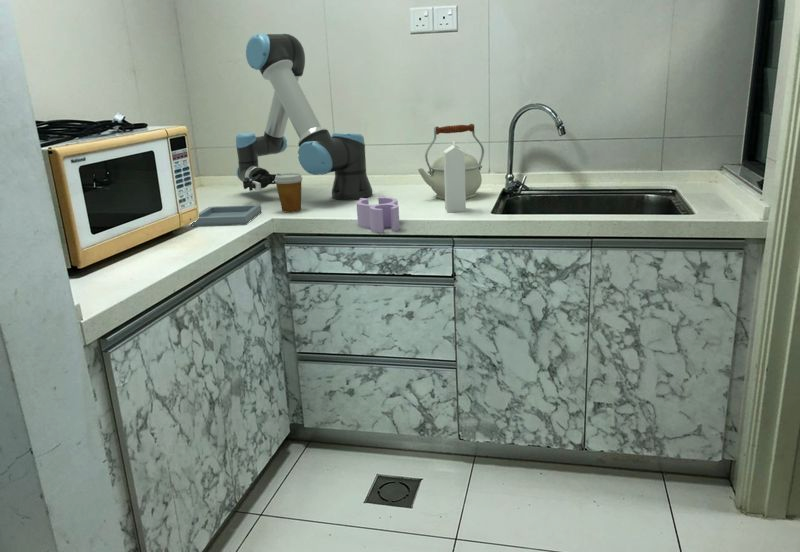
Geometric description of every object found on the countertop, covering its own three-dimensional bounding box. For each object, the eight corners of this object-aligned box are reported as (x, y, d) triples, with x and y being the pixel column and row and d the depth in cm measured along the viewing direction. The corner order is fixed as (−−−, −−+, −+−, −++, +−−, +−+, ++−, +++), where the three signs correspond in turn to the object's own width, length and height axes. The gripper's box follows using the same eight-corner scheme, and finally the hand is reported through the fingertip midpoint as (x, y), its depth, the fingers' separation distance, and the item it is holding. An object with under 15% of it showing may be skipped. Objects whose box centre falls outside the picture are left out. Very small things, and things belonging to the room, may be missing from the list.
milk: (463, 208, 216) (462, 139, 209) (465, 211, 210) (465, 141, 203) (444, 208, 215) (443, 140, 209) (446, 212, 210) (445, 142, 203)
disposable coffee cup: (311, 208, 227) (308, 173, 223) (292, 214, 219) (289, 178, 216) (290, 206, 232) (286, 172, 228) (271, 212, 224) (267, 177, 221)
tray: (261, 212, 225) (260, 204, 224) (246, 224, 207) (245, 216, 207) (210, 214, 226) (209, 206, 225) (190, 226, 209) (189, 218, 208)
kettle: (473, 189, 246) (472, 121, 239) (495, 197, 230) (494, 124, 222) (410, 196, 239) (407, 126, 232) (428, 205, 223) (425, 130, 215)
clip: (409, 230, 190) (408, 206, 188) (367, 235, 188) (365, 211, 185) (392, 216, 209) (390, 195, 207) (353, 220, 206) (351, 199, 204)
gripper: (289, 183, 256) (311, 190, 239) (226, 191, 244) (245, 200, 227) (287, 163, 254) (310, 170, 236) (224, 171, 242) (242, 178, 224)
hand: (278, 184), depth 231 cm, fingers open, 13 cm apart
